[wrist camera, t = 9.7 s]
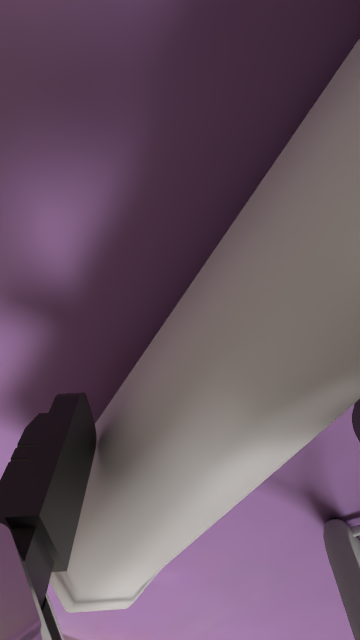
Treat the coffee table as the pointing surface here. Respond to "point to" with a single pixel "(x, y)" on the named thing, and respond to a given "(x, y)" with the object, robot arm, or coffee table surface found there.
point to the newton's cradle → (345, 566)
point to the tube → (233, 365)
